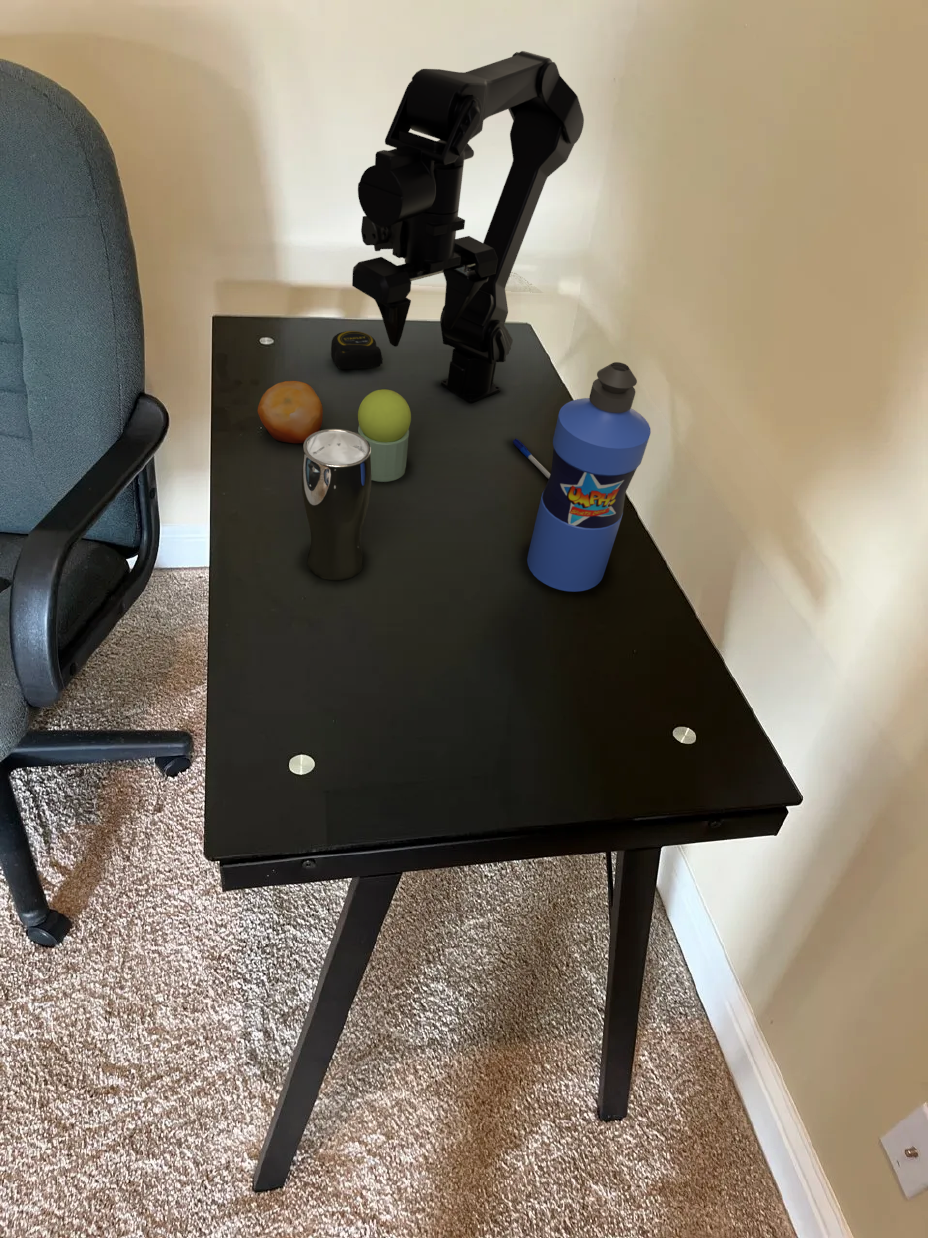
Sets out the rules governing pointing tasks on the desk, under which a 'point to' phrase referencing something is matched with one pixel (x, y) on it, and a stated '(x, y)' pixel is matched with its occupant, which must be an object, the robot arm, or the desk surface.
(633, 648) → the desk surface
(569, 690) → the desk surface
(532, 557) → the blue squeeze bottle
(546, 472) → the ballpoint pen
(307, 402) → the fruit
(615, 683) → the desk surface
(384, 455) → the cup
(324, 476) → the metal tumbler
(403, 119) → the robot arm
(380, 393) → the ball
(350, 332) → the tape measure
